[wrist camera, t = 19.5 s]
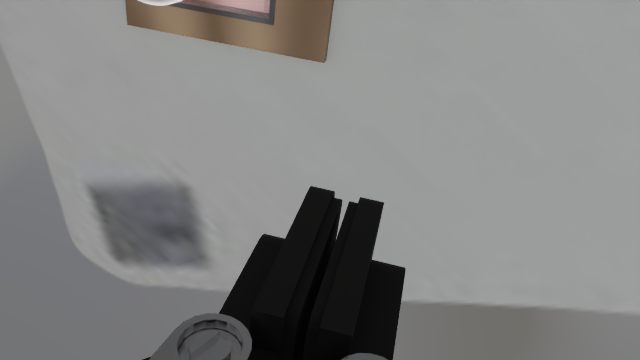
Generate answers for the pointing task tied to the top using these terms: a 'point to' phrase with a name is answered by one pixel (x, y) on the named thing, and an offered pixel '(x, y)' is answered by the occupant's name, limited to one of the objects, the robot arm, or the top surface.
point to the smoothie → (160, 2)
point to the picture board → (245, 23)
